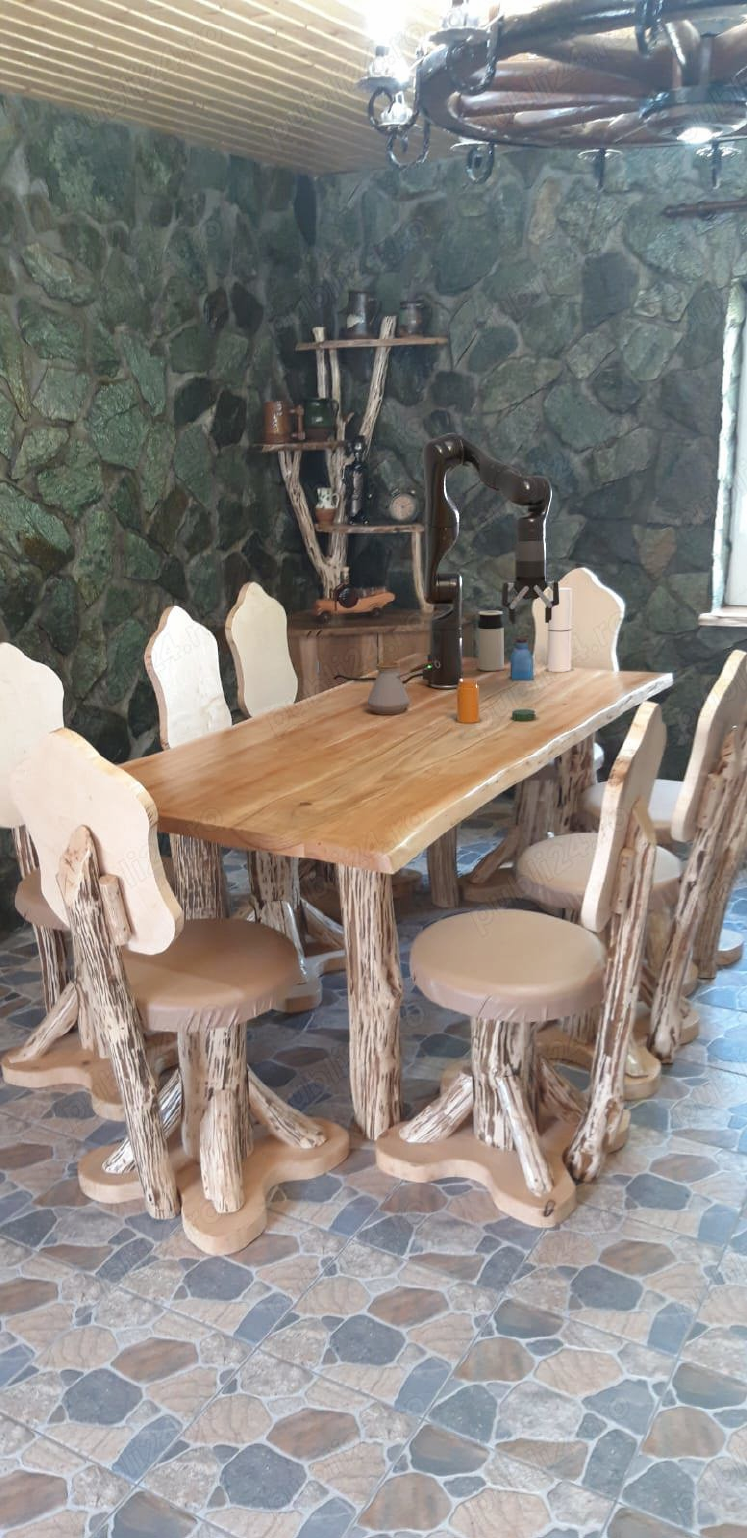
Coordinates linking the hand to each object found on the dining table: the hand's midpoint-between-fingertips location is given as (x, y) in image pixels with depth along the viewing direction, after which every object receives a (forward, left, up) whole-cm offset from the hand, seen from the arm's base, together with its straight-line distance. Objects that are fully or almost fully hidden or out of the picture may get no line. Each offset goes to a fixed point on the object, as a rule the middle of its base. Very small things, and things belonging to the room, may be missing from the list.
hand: (530, 622), depth 299 cm
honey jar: (-12, -12, -24) cm, 29 cm away
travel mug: (-38, +56, -24) cm, 72 cm away
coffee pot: (-31, -11, -24) cm, 41 cm away
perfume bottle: (-23, +46, -24) cm, 57 cm away
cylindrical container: (-18, +63, -24) cm, 70 cm away
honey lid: (0, -4, -22) cm, 23 cm away
